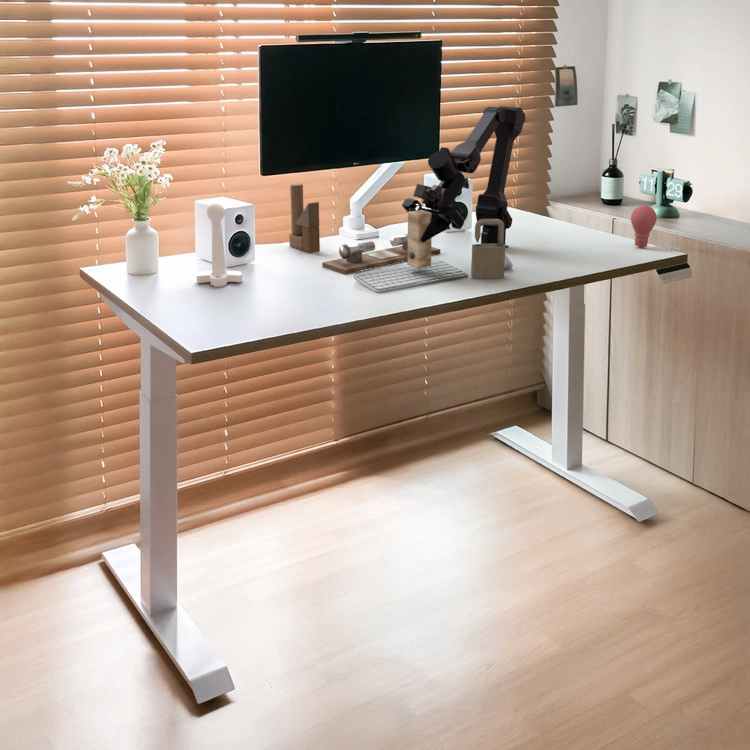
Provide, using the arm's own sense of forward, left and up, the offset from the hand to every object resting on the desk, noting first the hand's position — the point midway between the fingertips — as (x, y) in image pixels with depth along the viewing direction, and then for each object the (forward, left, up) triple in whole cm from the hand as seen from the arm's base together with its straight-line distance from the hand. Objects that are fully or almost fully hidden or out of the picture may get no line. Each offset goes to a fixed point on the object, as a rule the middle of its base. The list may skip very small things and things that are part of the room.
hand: (415, 239), depth 253 cm
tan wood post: (-1, 0, -7) cm, 7 cm away
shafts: (0, -15, -7) cm, 17 cm away
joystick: (+47, -20, -9) cm, 52 cm away
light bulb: (-69, +16, -9) cm, 71 cm away
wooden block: (+11, -38, -9) cm, 41 cm away
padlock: (-13, +14, -9) cm, 21 cm away
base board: (0, -15, -9) cm, 17 cm away
